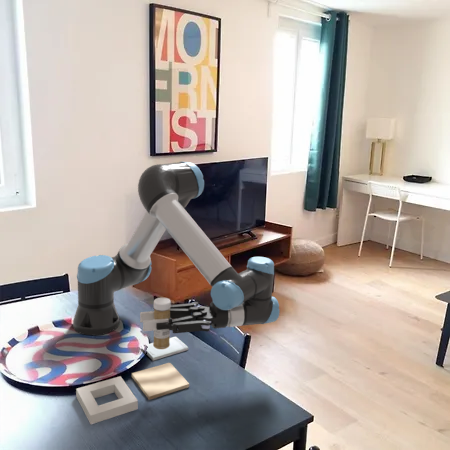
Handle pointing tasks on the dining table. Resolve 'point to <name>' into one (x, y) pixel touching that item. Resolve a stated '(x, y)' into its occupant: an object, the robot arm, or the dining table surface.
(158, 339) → the sprinkles bottle
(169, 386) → the birch board
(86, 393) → the socket block
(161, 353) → the hard drive
